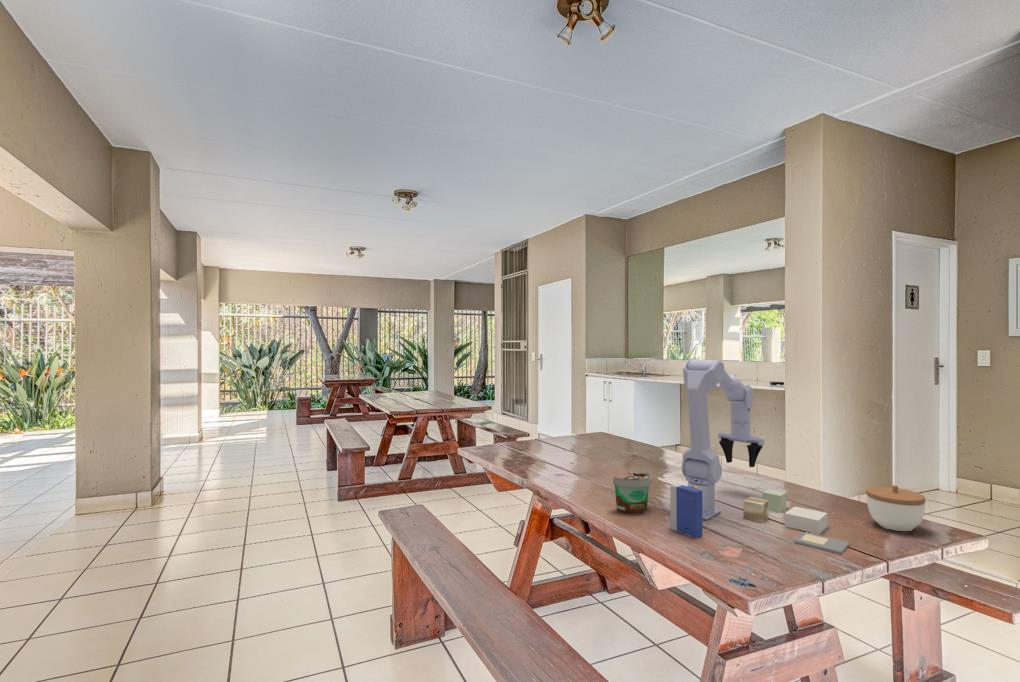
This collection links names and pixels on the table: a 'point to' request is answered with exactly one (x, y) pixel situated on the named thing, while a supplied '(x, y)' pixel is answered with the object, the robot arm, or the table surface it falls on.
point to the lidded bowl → (895, 507)
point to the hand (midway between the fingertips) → (740, 464)
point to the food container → (632, 493)
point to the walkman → (686, 510)
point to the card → (822, 542)
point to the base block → (806, 520)
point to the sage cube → (775, 500)
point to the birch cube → (756, 509)
